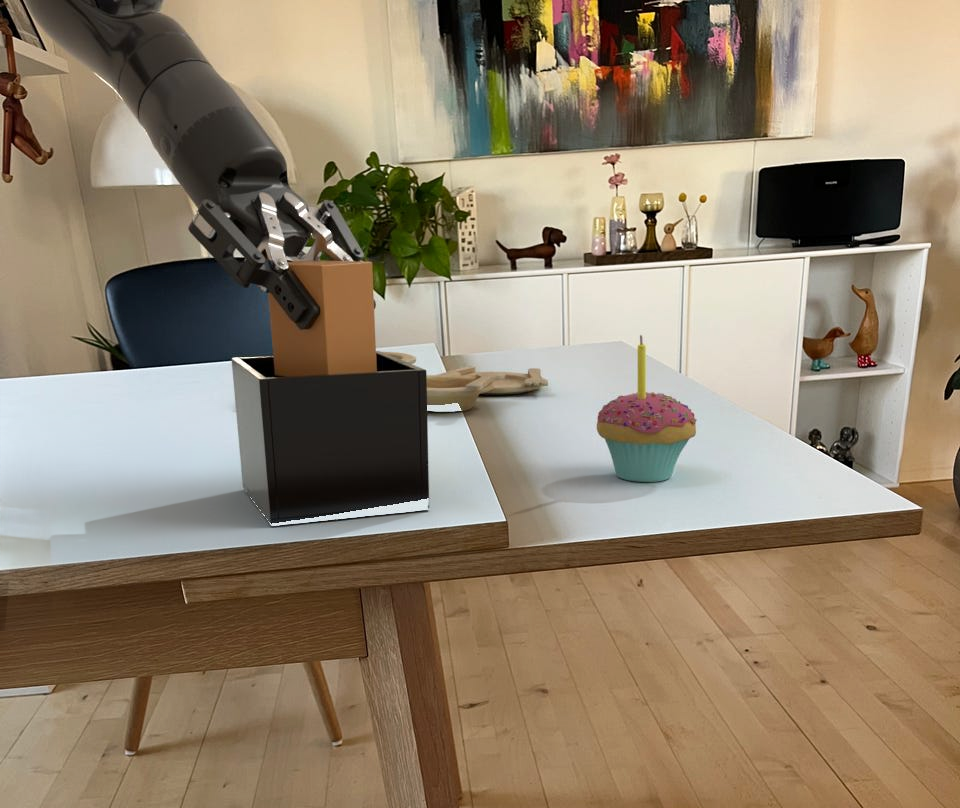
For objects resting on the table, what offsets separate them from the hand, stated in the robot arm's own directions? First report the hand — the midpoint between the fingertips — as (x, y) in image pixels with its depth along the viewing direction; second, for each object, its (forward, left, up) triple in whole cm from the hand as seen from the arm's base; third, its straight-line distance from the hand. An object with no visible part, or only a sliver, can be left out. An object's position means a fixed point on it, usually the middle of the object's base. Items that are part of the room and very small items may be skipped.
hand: (340, 317), depth 77 cm
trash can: (-1, +1, -14) cm, 14 cm away
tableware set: (+20, +48, -14) cm, 54 cm away
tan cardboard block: (-1, +1, -4) cm, 5 cm away
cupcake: (+26, -1, -14) cm, 30 cm away
